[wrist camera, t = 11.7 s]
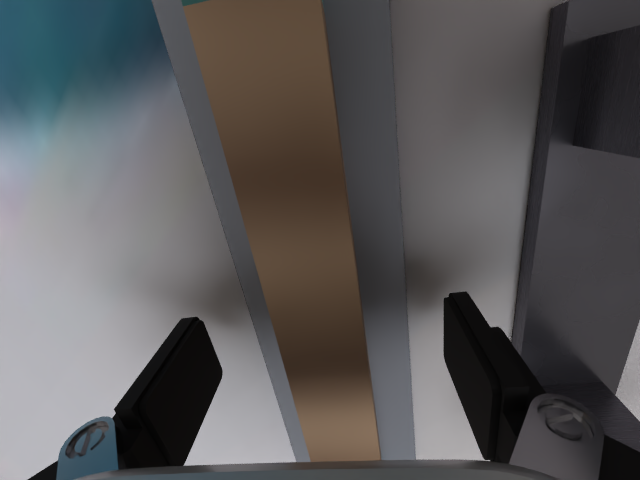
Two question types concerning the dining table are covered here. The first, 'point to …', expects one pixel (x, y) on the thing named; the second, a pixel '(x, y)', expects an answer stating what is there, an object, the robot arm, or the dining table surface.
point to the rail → (293, 205)
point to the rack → (585, 213)
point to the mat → (363, 194)
